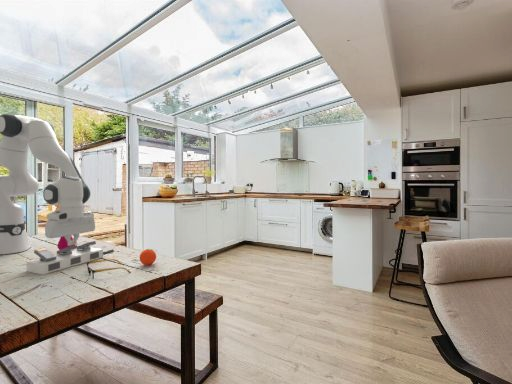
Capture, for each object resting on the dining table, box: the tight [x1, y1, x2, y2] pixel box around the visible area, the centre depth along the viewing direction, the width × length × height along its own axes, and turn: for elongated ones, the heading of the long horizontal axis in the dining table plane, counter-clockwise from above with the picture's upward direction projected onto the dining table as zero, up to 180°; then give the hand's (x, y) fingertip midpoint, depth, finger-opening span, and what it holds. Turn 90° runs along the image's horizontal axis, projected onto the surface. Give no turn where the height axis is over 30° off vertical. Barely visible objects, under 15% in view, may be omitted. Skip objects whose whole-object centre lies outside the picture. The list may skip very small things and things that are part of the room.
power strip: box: [26, 246, 115, 275], centre depth 130 cm, size 10×37×5 cm, turn 158°
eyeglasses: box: [85, 258, 132, 279], centre depth 116 cm, size 14×14×4 cm
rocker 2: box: [56, 244, 78, 254], centre depth 125 cm, size 8×4×2 cm, turn 67°
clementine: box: [139, 248, 159, 266], centre depth 125 cm, size 8×7×7 cm
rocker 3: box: [76, 240, 97, 250], centre depth 133 cm, size 8×4×2 cm, turn 67°
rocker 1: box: [33, 247, 57, 262], centre depth 117 cm, size 8×4×2 cm, turn 68°
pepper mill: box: [57, 235, 76, 251], centre depth 140 cm, size 7×7×20 cm
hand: (72, 244), depth 124 cm, fingers closed
